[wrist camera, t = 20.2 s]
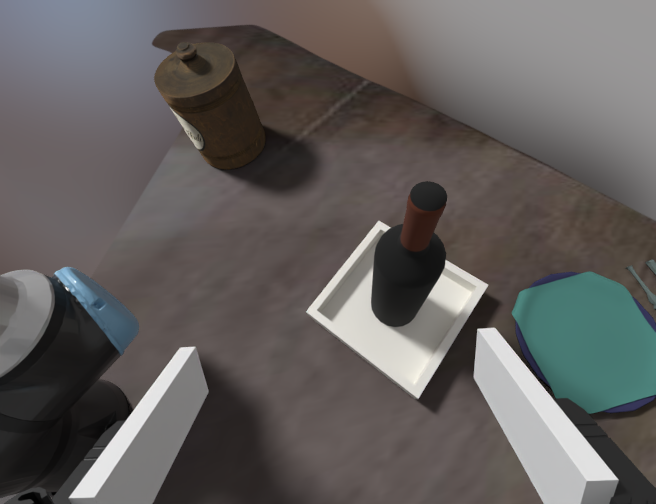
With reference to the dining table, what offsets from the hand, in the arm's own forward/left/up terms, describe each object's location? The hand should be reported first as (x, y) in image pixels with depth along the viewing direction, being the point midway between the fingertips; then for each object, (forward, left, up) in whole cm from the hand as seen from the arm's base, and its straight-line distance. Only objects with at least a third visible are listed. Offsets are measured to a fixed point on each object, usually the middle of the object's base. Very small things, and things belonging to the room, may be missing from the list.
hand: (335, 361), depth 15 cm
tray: (+14, +2, -36) cm, 38 cm away
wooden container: (+24, +51, -36) cm, 67 cm away
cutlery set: (+30, -26, -36) cm, 54 cm away
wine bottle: (+14, +2, -35) cm, 38 cm away
